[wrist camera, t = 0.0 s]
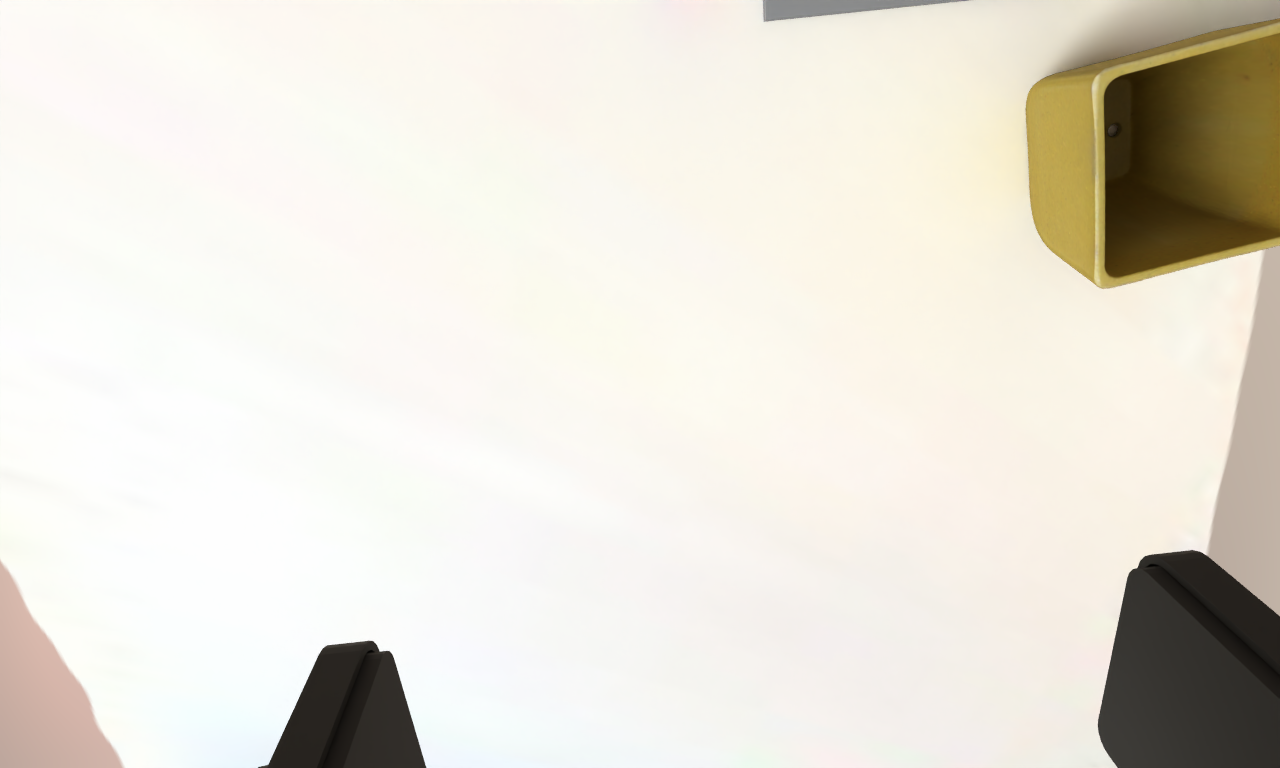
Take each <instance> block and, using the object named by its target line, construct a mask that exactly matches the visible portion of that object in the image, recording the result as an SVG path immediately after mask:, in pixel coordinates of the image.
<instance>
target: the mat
mask: <svg viewBox="0 0 1280 768" xmlns="http://www.w3.org/2000/svg"><path fill="white" fill-rule="evenodd" d="M957 1H967V0H763V8H764V21H774V20H784V19H793V18H803V17H812V16H822V15H832V14H841V13H851V12H861V11H870V10H880V9H890V8H899V7H909V6H919V5H928V4H938V3H948V2H957Z"/></svg>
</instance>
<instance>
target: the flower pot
mask: <svg viewBox="0 0 1280 768" xmlns="http://www.w3.org/2000/svg"><path fill="white" fill-rule="evenodd" d="M1026 124H1027V141H1028V161H1029V188H1030V201H1031V209H1032V215H1033V220H1034V223H1035V226H1036V229H1037V231H1038V233H1039V235H1040V237H1041V239H1042V240H1043V242H1044V243H1045V245H1046V246H1047V247H1048V248H1049V249H1050V250H1051V251H1052V252H1053V253H1055V254H1056V255H1057V256H1058V257H1060V258H1061V259H1062V260H1064V261H1065V262H1066V263H1068V264H1069V265H1070V266H1071V267H1073V268H1074V269H1075V270H1077V271H1078V272H1079V273H1081V274H1082V275H1084V276H1085V277H1086V278H1087V279H1089V280H1090V281H1091V282H1093V283H1094V284H1095V285H1097V286H1098V287H1100V288H1102V289H1106V288H1113V287H1117V286H1122V285H1126V284H1130V283H1133V282H1138V281H1141V280H1144V279H1148V278H1152V277H1155V276H1159V275H1163V274H1167V273H1171V272H1175V271H1179V270H1182V269H1186V268H1190V267H1194V266H1198V265H1202V264H1206V263H1210V262H1214V261H1218V260H1221V259H1226V258H1230V257H1234V256H1238V255H1243V254H1247V253H1251V252H1256V251H1259V250H1264V249H1268V248H1271V247H1275V246H1280V19H1275V20H1270V21H1264V22H1259V23H1254V24H1249V25H1243V26H1238V27H1233V28H1227V29H1222V30H1217V31H1213V32H1209V33H1206V34H1202V35H1198V36H1195V37H1192V38H1188V39H1185V40H1181V41H1178V42H1174V43H1171V44H1167V45H1163V46H1160V47H1156V48H1153V49H1149V50H1146V51H1142V52H1138V53H1135V54H1131V55H1127V56H1123V57H1120V58H1116V59H1112V60H1108V61H1104V62H1100V63H1097V64H1093V65H1089V66H1085V67H1081V68H1077V69H1073V70H1069V71H1064V72H1060V73H1056V74H1053V75H1050V76H1047V77H1045V78H1043V79H1041V80H1040V81H1038V82H1037V83H1036V84H1035V85H1034V86H1033V87H1032V88H1031V89H1030V91H1029V94H1028V96H1027V102H1026ZM1112 124H1115V125H1117V127H1118V131H1117V133H1116V134H1115V135H1113V136H1109V135H1108V128H1109V127H1110V126H1111V125H1112Z"/></svg>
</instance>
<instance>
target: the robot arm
mask: <svg viewBox="0 0 1280 768" xmlns="http://www.w3.org/2000/svg"><path fill="white" fill-rule="evenodd" d="M1098 730H1099V735H1100V739H1101V742H1102V744H1103V746H1104V748H1105V750H1106V752H1107V753H1108V755H1109V756H1110V758H1111V759H1112V761H1113V762H1114V763H1115V765H1116V766H1117V767H1118V768H1280V616H1279V615H1277V614H1276V613H1275V612H1274V611H1273V610H1272V609H1270V608H1269V607H1268V606H1267V605H1266V604H1264V603H1263V602H1262V601H1261V600H1260V599H1258V598H1257V597H1256V596H1255V595H1253V594H1252V593H1251V592H1250V591H1249V590H1247V589H1246V588H1245V587H1244V586H1243V585H1241V584H1240V583H1239V582H1238V581H1237V580H1236V579H1234V578H1233V577H1232V576H1231V575H1229V574H1228V573H1227V572H1226V571H1225V570H1224V569H1222V568H1221V567H1220V566H1218V565H1217V564H1216V563H1215V562H1214V561H1212V560H1211V559H1210V558H1209V557H1208V556H1206V555H1205V554H1203V553H1201V552H1198V551H1194V550H1190V551H1181V552H1172V553H1163V554H1154V555H1148V556H1145V557H1144V558H1143V559H1142V560H1141V561H1140V563H1139V566H1138V568H1137V569H1133V570H1132V571H1131V572H1130V573H1129V575H1128V578H1127V583H1126V588H1125V592H1124V597H1123V602H1122V607H1121V612H1120V617H1119V622H1118V627H1117V631H1116V636H1115V641H1114V646H1113V651H1112V656H1111V661H1110V666H1109V670H1108V675H1107V680H1106V685H1105V690H1104V695H1103V700H1102V705H1101V709H1100V714H1099V719H1098ZM258 768H426V766H425V762H424V759H423V755H422V752H421V749H420V745H419V742H418V738H417V735H416V732H415V728H414V725H413V722H412V718H411V715H410V711H409V708H408V705H407V701H406V698H405V694H404V691H403V688H402V684H401V681H400V678H399V674H398V671H397V667H396V664H395V661H394V658H393V655H392V654H391V652H390V651H383V652H380V651H379V649H378V647H377V645H376V644H375V643H374V641H364V642H355V643H346V644H336V645H327V646H326V647H324V648H323V649H322V651H321V652H320V654H319V656H318V658H317V660H316V662H315V664H314V667H313V669H312V671H311V673H310V675H309V677H308V680H307V682H306V684H305V686H304V688H303V691H302V693H301V695H300V697H299V699H298V701H297V704H296V706H295V708H294V710H293V712H292V715H291V717H290V719H289V721H288V723H287V725H286V728H285V730H284V732H283V734H282V736H281V739H280V741H279V743H278V745H277V747H276V749H275V752H274V754H273V756H272V758H271V760H270V763H269V765H266V766H261V767H258Z"/></svg>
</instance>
